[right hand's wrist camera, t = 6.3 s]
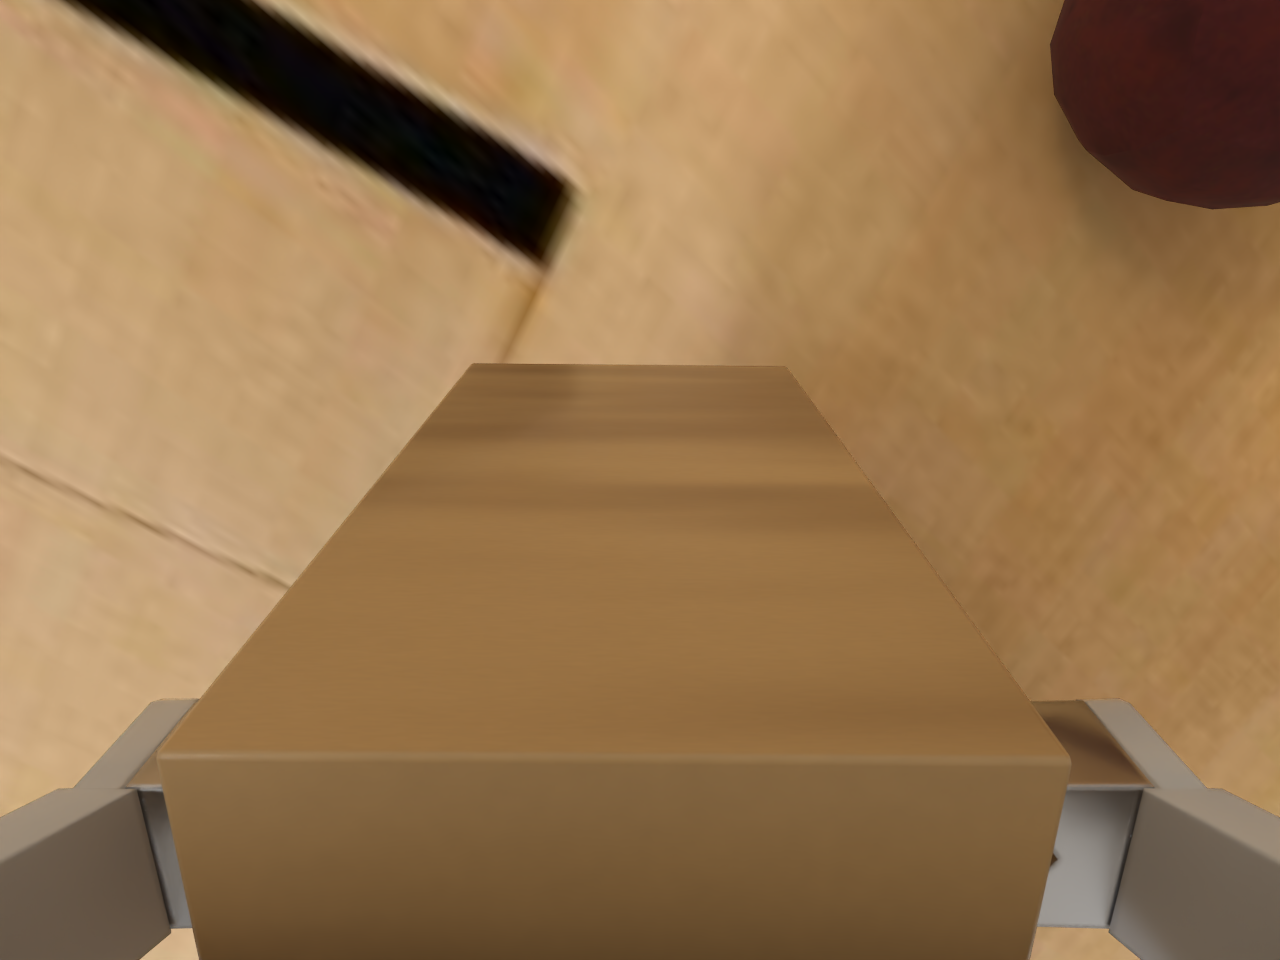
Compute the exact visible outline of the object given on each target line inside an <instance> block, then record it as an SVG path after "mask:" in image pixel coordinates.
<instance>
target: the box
mask: <svg viewBox="0 0 1280 960" xmlns="http://www.w3.org/2000/svg"><path fill="white" fill-rule="evenodd" d="M156 761H157V766H158V770H159V775H160V780H161V784H162V789H163V793H164V798H165V803H166V807H167V812H168V817H169V821H170V826H171V831H172V835H173V840H174V845H175V849H176V854H177V859H178V863H179V868H180V873H181V877H182V882H183V887H184V891H185V896H186V901H187V905H188V910H189V914H190V919H191V924H192V928H193V933H194V938H195V942H196V947H197V952H198V956H199V960H1030V956H1031V951H1032V947H1033V942H1034V938H1035V933H1036V928H1037V924H1038V919H1039V914H1040V910H1041V905H1042V901H1043V896H1044V891H1045V887H1046V882H1047V877H1048V873H1049V868H1050V864H1051V859H1052V854H1053V850H1054V845H1055V840H1056V836H1057V831H1058V827H1059V822H1060V817H1061V813H1062V808H1063V803H1064V799H1065V794H1066V790H1067V785H1068V780H1069V776H1070V771H1071V766H1072V764H1071V759H1070V755H1069V754H1068V753H1067V751H1066V750H1065V749H1064V747H1063V746H1062V744H1061V743H1060V742H1059V740H1058V739H1057V738H1056V736H1055V735H1054V733H1053V732H1052V731H1051V729H1050V728H1049V727H1048V725H1047V724H1046V723H1045V721H1044V720H1043V718H1042V717H1041V716H1040V714H1039V713H1038V712H1037V710H1036V709H1035V707H1034V706H1033V705H1032V703H1031V702H1030V701H1029V699H1028V698H1027V696H1026V695H1025V694H1024V692H1023V691H1022V690H1021V688H1020V687H1019V685H1018V684H1017V683H1016V681H1015V680H1014V679H1013V677H1012V676H1011V674H1010V673H1009V672H1008V670H1007V669H1006V668H1005V666H1004V665H1003V663H1002V662H1001V661H1000V659H999V658H998V657H997V655H996V654H995V652H994V651H993V650H992V648H991V647H990V646H989V644H988V643H987V641H986V640H985V639H984V637H983V636H982V635H981V633H980V632H979V630H978V629H977V628H976V626H975V625H974V624H973V622H972V621H971V620H970V618H969V617H968V615H967V614H966V613H965V611H964V610H963V609H962V607H961V606H960V604H959V603H958V602H957V600H956V599H955V598H954V596H953V595H952V593H951V592H950V591H949V589H948V588H947V587H946V585H945V584H944V582H943V581H942V580H941V578H940V577H939V576H938V574H937V573H936V571H935V570H934V569H933V567H932V566H931V565H930V563H929V562H928V560H927V559H926V558H925V556H924V555H923V554H922V552H921V551H920V549H919V548H918V547H917V545H916V544H915V543H914V541H913V540H912V538H911V537H910V536H909V534H908V533H907V532H906V530H905V529H904V527H903V526H902V525H901V523H900V522H899V521H898V519H897V518H896V516H895V515H894V514H893V512H892V511H891V510H890V508H889V507H888V506H887V504H886V503H885V501H884V500H883V499H882V497H881V496H880V495H879V493H878V492H877V490H876V489H875V488H874V486H873V485H872V484H871V482H870V481H869V479H868V478H867V477H866V475H865V474H864V473H863V471H862V470H861V468H860V467H859V466H858V464H857V463H856V462H855V460H854V459H853V457H852V456H851V455H850V453H849V452H848V451H847V449H846V448H845V446H844V445H843V444H842V442H841V441H840V440H839V438H838V437H837V435H836V434H835V433H834V431H833V430H832V429H831V427H830V426H829V424H828V423H827V422H826V420H825V419H824V418H823V416H822V415H821V413H820V412H819V411H818V409H817V408H816V407H815V405H814V404H813V403H812V401H811V400H810V398H809V397H808V396H807V394H806V393H805V392H804V390H803V389H802V387H801V386H800V385H799V383H798V382H797V381H796V379H795V378H794V376H793V375H792V374H791V372H790V371H789V370H788V368H787V367H785V366H686V365H581V364H475V363H474V364H471V365H470V367H469V368H468V369H467V370H466V372H465V373H464V374H463V375H462V377H461V378H460V379H459V380H458V382H457V383H456V384H455V385H454V386H453V388H452V389H451V390H450V391H449V393H448V394H447V395H446V396H445V398H444V399H443V400H442V401H441V402H440V404H439V405H438V406H437V407H436V409H435V410H434V411H433V412H432V414H431V415H430V416H429V417H428V418H427V420H426V421H425V422H424V423H423V425H422V426H421V427H420V428H419V430H418V431H417V432H416V433H415V435H414V436H413V437H412V438H411V439H410V441H409V442H408V443H407V444H406V446H405V447H404V448H403V449H402V451H401V452H400V453H399V454H398V455H397V457H396V458H395V459H394V460H393V462H392V463H391V464H390V465H389V467H388V468H387V469H386V470H385V471H384V473H383V474H382V475H381V476H380V478H379V479H378V480H377V481H376V483H375V484H374V485H373V486H372V488H371V489H370V490H369V491H368V492H367V494H366V495H365V496H364V497H363V499H362V500H361V501H360V502H359V504H358V505H357V506H356V507H355V508H354V510H353V511H352V512H351V513H350V515H349V516H348V517H347V518H346V520H345V521H344V522H343V523H342V524H341V526H340V527H339V528H338V529H337V531H336V532H335V533H334V534H333V536H332V537H331V538H330V539H329V541H328V542H327V543H326V544H325V545H324V547H323V548H322V549H321V550H320V552H319V553H318V554H317V555H316V557H315V558H314V559H313V560H312V561H311V563H310V564H309V565H308V566H307V568H306V569H305V570H304V571H303V573H302V574H301V575H300V576H299V577H298V579H297V580H296V581H295V582H294V584H293V585H292V586H291V587H290V589H289V590H288V591H287V592H286V594H285V595H284V596H283V597H282V598H281V600H280V601H279V602H278V603H277V605H276V606H275V607H274V608H273V610H272V611H271V612H270V613H269V614H268V616H267V617H266V618H265V619H264V621H263V622H262V623H261V624H260V626H259V627H258V628H257V629H256V631H255V632H254V633H253V634H252V635H251V637H250V638H249V639H248V640H247V642H246V643H245V644H244V645H243V647H242V648H241V649H240V650H239V651H238V653H237V654H236V655H235V656H234V658H233V659H232V660H231V661H230V663H229V664H228V665H227V666H226V667H225V669H224V670H223V671H222V672H221V674H220V675H219V676H218V677H217V679H216V680H215V681H214V682H213V684H212V685H211V686H210V687H209V688H208V690H207V691H206V692H205V693H204V695H203V696H202V697H201V698H200V700H199V701H198V702H197V703H196V704H195V706H194V707H193V708H192V709H191V711H190V712H189V713H188V714H187V716H186V717H185V718H184V719H183V720H182V722H181V723H180V724H179V725H178V727H177V728H176V729H175V730H174V732H173V733H172V734H171V735H170V737H169V738H168V739H167V740H166V741H165V743H164V744H163V745H162V746H161V748H160V749H159V750H158V754H157V759H156Z"/></svg>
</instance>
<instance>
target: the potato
mask: <svg viewBox="0 0 1280 960" xmlns="http://www.w3.org/2000/svg"><path fill="white" fill-rule="evenodd" d="M1050 48H1051V61H1052V73H1053V85H1054V95H1055V97H1056V99H1057V101H1058V103H1059V104H1060V106H1061V108H1062V110H1063V112H1064V114H1065V116H1066V118H1067V119H1068V121H1069V123H1070V125H1071V127H1072V129H1073V131H1074V133H1075V134H1076V136H1077V138H1078V140H1079V141H1080V143H1081V144H1082V145H1083V146H1084V148H1085V149H1086V150H1087V151H1088V152H1089V153H1090V154H1092V155H1093V156H1094V157H1095V158H1096V159H1097V160H1099V161H1100V162H1101V163H1102V164H1103V165H1104V166H1106V167H1107V168H1108V169H1109V170H1110V171H1111V172H1113V173H1114V174H1115V175H1116V176H1117V177H1118V178H1120V179H1121V180H1122V181H1123V182H1124V183H1126V184H1127V185H1128V186H1129V187H1130V188H1131V189H1133V190H1136V191H1139V192H1142V193H1145V194H1148V195H1151V196H1154V197H1157V198H1160V199H1163V200H1166V201H1171V202H1177V203H1182V204H1187V205H1192V206H1198V207H1203V208H1208V209H1223V208H1238V207H1253V206H1267V205H1271V204H1275V203H1278V202H1280V0H1065V1H1064V4H1063V7H1062V10H1061V13H1060V16H1059V19H1058V22H1057V25H1056V28H1055V31H1054V34H1053V38H1052V41H1051V44H1050Z"/></svg>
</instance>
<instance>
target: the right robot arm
mask: <svg viewBox="0 0 1280 960" xmlns="http://www.w3.org/2000/svg"><path fill="white" fill-rule="evenodd" d="M199 700H200V699H161V700H157V701H154V702H151V703H150V704H149V705H148V706H147V707H146V708H145V709H144V710H143V712H142V713H141V714H140V715H139V716H138V717H137V718H136V719H135V720H134V721H133V723H132V724H131V725H130V726H129V727H128V728H127V729H126V730H125V731H124V733H123V734H122V735H121V736H120V737H119V738H118V739H117V740H116V741H115V742H114V744H113V745H112V746H111V747H110V748H109V749H108V750H107V751H106V752H105V753H104V755H103V756H102V757H101V758H100V759H99V760H98V761H97V762H96V763H95V764H94V766H93V767H92V768H91V769H90V770H89V771H88V772H87V773H86V774H85V776H84V777H83V778H82V779H81V780H80V781H79V782H78V783H77V784H76V785H75V787H74V788H73V789H57V790H55V791H53V792H51V793H49V794H47V795H45V796H43V797H41V798H39V799H37V800H35V801H33V802H31V803H29V804H27V805H24V806H22V807H20V808H18V809H16V810H14V811H12V812H10V813H8V814H6V815H4V816H2V817H0V960H139V959H141V958H142V957H143V956H144V955H145V954H147V953H148V952H149V951H150V950H151V949H153V948H154V947H155V946H156V945H157V944H159V943H160V942H161V941H162V940H163V939H165V938H166V937H167V936H168V935H169V934H170V933H171V929H173V928H192V924H191V919H190V914H189V910H188V905H187V901H186V896H185V891H184V887H183V882H182V877H181V873H180V868H179V863H178V859H177V854H176V849H175V845H174V840H173V835H172V831H171V826H170V821H169V817H168V812H167V807H166V803H165V798H164V793H163V789H162V784H161V780H160V775H159V770H158V766H157V761H156V759H157V754H158V750H159V749H160V748H161V746H162V745H163V744H164V743H165V741H166V740H167V739H168V738H169V737H170V735H171V734H172V733H173V732H174V730H175V729H176V728H177V727H178V725H179V724H180V723H181V722H182V720H183V719H184V718H185V717H186V716H187V714H188V713H189V712H190V711H191V709H192V708H193V707H194V706H195V704H196V703H197V702H198V701H199ZM1030 702H1031V703H1032V705H1033V706H1034V707H1035V709H1036V710H1037V712H1038V713H1039V714H1040V716H1041V717H1042V718H1043V720H1044V721H1045V723H1046V724H1047V725H1048V727H1049V728H1050V729H1051V731H1052V732H1053V733H1054V735H1055V736H1056V738H1057V739H1058V740H1059V742H1060V743H1061V744H1062V746H1063V747H1064V749H1065V750H1066V751H1067V753H1068V754H1069V755H1070V759H1071V764H1072V766H1071V771H1070V776H1069V780H1068V785H1067V790H1066V794H1065V799H1064V803H1063V808H1062V813H1061V817H1060V822H1059V827H1058V831H1057V836H1056V840H1055V845H1054V850H1053V854H1052V859H1051V864H1050V868H1049V873H1048V877H1047V882H1046V887H1045V891H1044V896H1043V901H1042V905H1041V910H1040V914H1039V919H1038V924H1037V927H1071V928H1106V929H1109V933H1110V934H1111V935H1112V936H1114V937H1115V938H1116V939H1117V940H1118V941H1119V942H1121V943H1122V944H1123V945H1124V946H1125V947H1127V948H1128V949H1129V950H1130V951H1131V952H1133V953H1134V954H1135V955H1136V956H1137V957H1139V958H1140V959H1141V960H1280V817H1278V816H1276V815H1274V814H1272V813H1270V812H1268V811H1265V810H1263V809H1261V808H1259V807H1257V806H1255V805H1253V804H1251V803H1249V802H1247V801H1245V800H1243V799H1241V798H1239V797H1237V796H1235V795H1233V794H1231V793H1229V792H1227V791H1225V790H1223V789H1207V788H1206V787H1205V785H1204V784H1203V783H1202V782H1201V781H1200V780H1199V779H1198V778H1197V777H1196V776H1195V774H1194V773H1193V772H1192V771H1191V770H1190V769H1189V768H1188V767H1187V766H1186V764H1185V763H1184V762H1183V761H1182V760H1181V759H1180V758H1179V757H1178V756H1177V755H1176V753H1175V752H1174V751H1173V750H1172V749H1171V748H1170V747H1169V746H1168V745H1167V744H1166V742H1165V741H1164V740H1163V739H1162V738H1161V737H1160V736H1159V735H1158V734H1157V732H1156V731H1155V730H1154V729H1153V728H1152V727H1151V726H1150V725H1149V724H1148V723H1147V721H1146V720H1145V719H1144V718H1143V717H1142V716H1141V715H1140V714H1139V713H1138V712H1137V710H1136V709H1135V708H1134V707H1133V706H1132V705H1131V704H1130V703H1128V702H1126V701H1124V700H1122V699H1120V698H1110V699H1080V700H1075V701H1030Z"/></svg>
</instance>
